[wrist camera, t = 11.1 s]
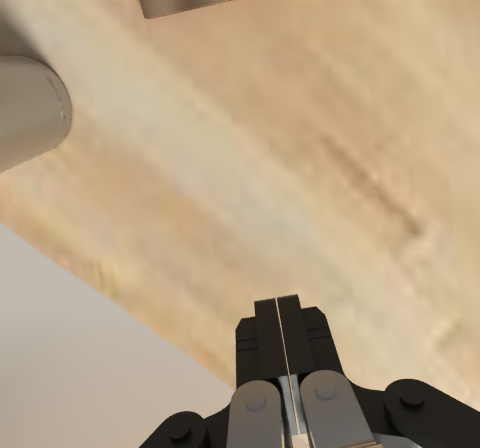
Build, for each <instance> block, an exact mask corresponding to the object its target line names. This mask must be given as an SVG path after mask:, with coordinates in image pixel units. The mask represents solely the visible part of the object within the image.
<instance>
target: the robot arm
mask: <svg viewBox="0 0 480 448" xmlns="http://www.w3.org/2000/svg"><path fill="white" fill-rule="evenodd" d="M71 121H72V107H71V102H70V98H69V95H68V93H67V91H66V88H65V86H64V85H63V83H62V82H61V80H60V79H59V77H58V76H57V75H56V74H55V73H54V72H53V71H52V70H51V69H50V68H48V67H47V66H45V65H44V64H43V63H41V62H39V61H37V60H35V59H33V58H29V57H25V56H0V173H2V172H4V171H6V170H8V169H10V168H13V167H15V166H17V165H19V164H21V163H23V162H25V161H28V160H30V159H32V158H34V157H36V156H39V155H41V154H43V153H45V152H47V151H49V150H51V149H53V148H55V147H56V146H58V145H59V144H60V143H61V142H62V141H63V140H64V138H65V137H66V136H67V134H68V131H69V129H70V126H71ZM277 302H278V308H279V314H280V320H281V326H282V332H283V338H284V344H285V350H286V356H287V362H288V368H289V374H290V380H291V385H292V391H293V396H294V402H295V407H296V412H297V418H298V423H299V429H300V434H305V433H307V435H308V441H309V446H310V448H480V412H479V411H477V410H475V409H473V408H471V407H469V406H468V405H466V404H464V403H462V402H460V401H458V400H456V399H455V398H453V397H451V396H449V395H447V394H445V393H443V392H442V391H440V390H438V389H436V388H434V387H432V386H430V385H429V384H427V383H424V382H422V381H419V380H415V379H401V380H397V381H394V382H393V383H391V384H390V385H388V387H387V388H386V389H385V391H379V390H371V389H366V388H362V387H360V386H357V385H356V384H354V383H352V382H351V381H350V380H349V379H348V378H347V377H346V376H345V374H344V372H343V370H342V366H341V363H340V360H339V357H338V354H337V351H336V347H335V344H334V341H333V338H332V335H331V332H330V329H329V325H328V322H327V319H326V316H325V314H323V313H322V312H321V311H320V310H319V309H318V308H317V307H316V306H315V307H309V308H303V309H301V306H300V302H299V297H298V294H296V295H290V296H284V297H278V298H277ZM254 305H255V317H249V318H243V319H241V321H240V322H239V324H238V326H237V328H236V391H235V392H234V394H233V396H232V398H231V402H230V403H229V405H228V406H227V407H226V408H224V409H223V410H222V411H219V412H218V413H216V414H214V415H211V416H209V417H207V418H205V419H203V418H202V417H201V416H200V415H199V414H197V413H195V412H190V411H184V412H179V413H176V414H174V415H172V416H170V417H169V418H167V419H166V420H165V421H164V422H163V423H162V424H161V425H160V426H159V427H158V428H157V429H156V430H155V431H154V432H153V433H152V434H151V435H150V436H149V438H147V440H146V441H145V442H144V443H143V444H142V445H141V446H140V447H139V448H293V444H292V438H291V436H292V435H298V430H297V424H296V418H295V412H294V405H293V399H292V393H291V387H290V381H289V375H288V368H287V362H286V356H285V350H284V344H283V338H282V333H281V327H280V322H279V317H278V311H277V306H276V300H275V298H272V299H266V300H260V301H254Z"/></svg>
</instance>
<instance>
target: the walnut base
mask: <svg viewBox="0 0 480 448" xmlns="http://www.w3.org/2000/svg"><path fill="white" fill-rule="evenodd" d="M227 1H232V0H140V2H141V6H142V10H143V14H144V18H146V19H153V18H157V17H161V16H166V15H170V14H175V13H179V12H183V11H188V10H192V9H196V8H201V7H205V6H210V5H214V4H218V3H223V2H227Z"/></svg>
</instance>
